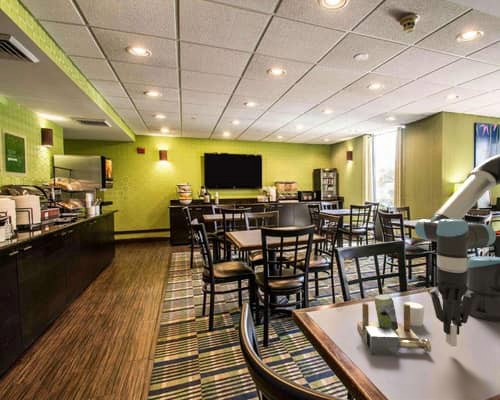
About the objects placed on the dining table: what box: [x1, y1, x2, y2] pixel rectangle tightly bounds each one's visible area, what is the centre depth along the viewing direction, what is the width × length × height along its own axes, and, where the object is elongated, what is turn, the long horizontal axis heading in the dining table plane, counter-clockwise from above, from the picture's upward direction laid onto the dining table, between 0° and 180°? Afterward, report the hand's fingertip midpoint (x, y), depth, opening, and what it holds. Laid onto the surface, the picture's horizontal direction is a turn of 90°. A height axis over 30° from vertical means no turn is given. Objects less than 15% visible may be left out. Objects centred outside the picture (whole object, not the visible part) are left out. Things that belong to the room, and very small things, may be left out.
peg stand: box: [356, 302, 420, 342], centre depth 93 cm, size 17×10×11 cm, turn 83°
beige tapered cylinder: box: [403, 300, 425, 327], centre depth 102 cm, size 7×7×7 cm
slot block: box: [365, 326, 400, 358], centre depth 85 cm, size 8×6×6 cm
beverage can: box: [374, 294, 398, 331], centre depth 93 cm, size 6×7×12 cm
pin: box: [398, 338, 432, 353], centre depth 84 cm, size 10×4×4 cm, turn 83°
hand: (451, 343), depth 82 cm, fingers closed
